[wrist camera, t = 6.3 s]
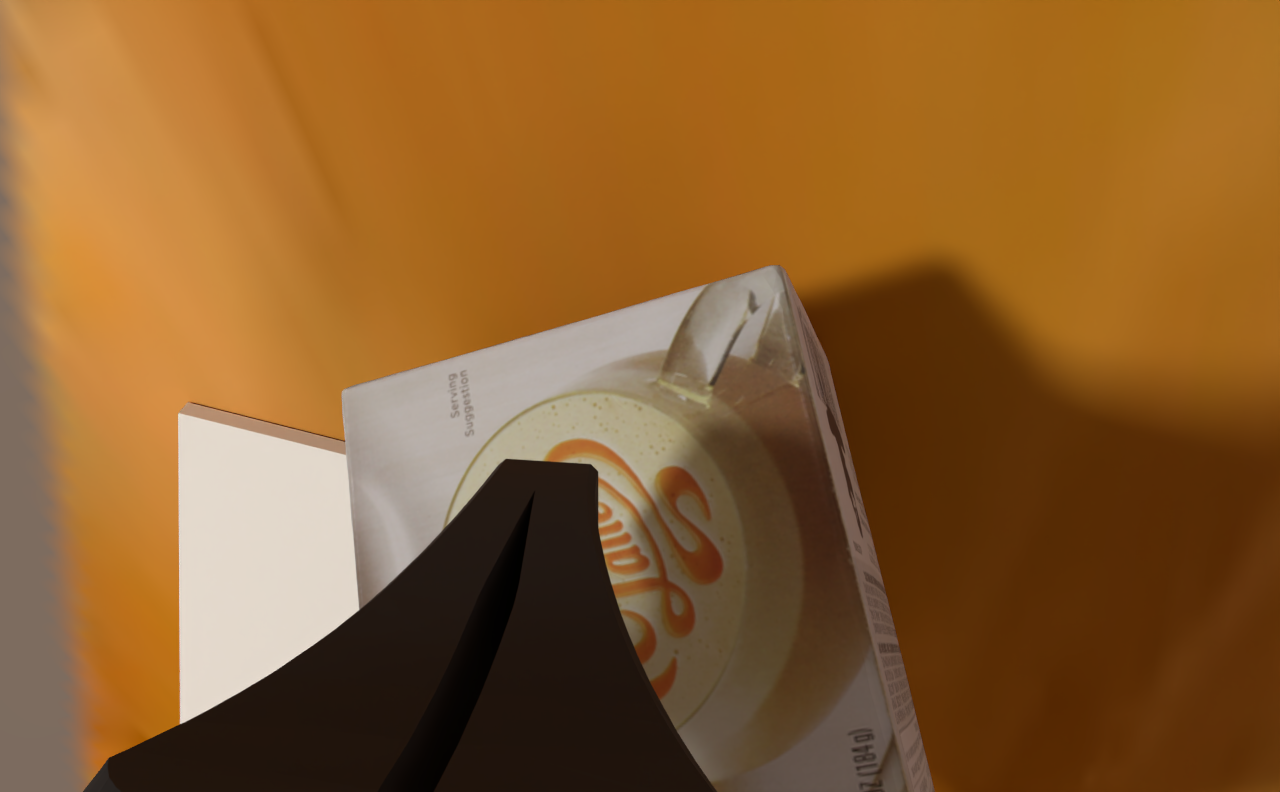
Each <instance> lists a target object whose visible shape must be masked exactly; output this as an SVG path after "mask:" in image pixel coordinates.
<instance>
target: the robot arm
mask: <svg viewBox="0 0 1280 792" xmlns="http://www.w3.org/2000/svg"><path fill="white" fill-rule="evenodd" d="M83 792H717V791H716V789H715V788H714V786H713V785H712V784H711V782H710V781H709V779H708V778H707V776H706V775H705V774H704V772H703V771H702V769H701V768H700V766H699V765H698V764H697V762H696V761H695V759H694V757H693V756H692V754H691V753H690V751H689V749H688V748H687V746H686V745H685V743H684V742H683V740H682V738H681V737H680V735H679V734H678V732H677V730H676V729H675V727H674V725H673V723H672V721H671V719H670V718H669V716H668V714H667V712H666V710H665V709H664V707H663V705H662V703H661V701H660V699H659V698H658V696H657V694H656V692H655V690H654V689H653V687H652V685H651V683H650V681H649V679H648V677H647V674H646V672H645V670H644V668H643V666H642V664H641V661H640V659H639V657H638V655H637V653H636V650H635V648H634V645H633V643H632V641H631V638H630V636H629V633H628V631H627V628H626V626H625V623H624V620H623V617H622V615H621V612H620V609H619V606H618V603H617V600H616V597H615V594H614V590H613V587H612V584H611V581H610V577H609V573H608V570H607V566H606V562H605V557H604V553H603V548H602V544H601V540H600V534H599V529H598V471H597V470H596V469H595V468H594V467H593V466H592V465H591V464H583V463H567V462H551V461H535V460H519V459H505V460H504V461H502V462H501V463H500V464H499V465H498V466H497V467H496V468H495V470H494V471H493V472H492V473H491V475H490V476H489V477H488V478H487V480H486V481H485V482H484V483H483V485H482V486H481V487H480V488H479V490H478V491H477V492H476V493H475V494H474V495H473V497H472V498H471V499H470V500H469V501H468V503H467V504H466V505H465V506H464V507H463V508H462V509H461V511H460V512H459V513H458V514H457V515H456V516H455V517H454V518H453V520H452V521H451V522H450V523H449V524H448V525H447V526H446V527H445V528H444V529H443V530H442V531H441V533H440V534H439V535H438V536H437V537H436V538H435V539H434V540H433V541H432V542H431V543H430V544H429V545H428V546H427V547H426V549H425V550H424V551H423V552H422V553H421V554H420V555H419V556H418V557H416V558H415V559H414V560H413V561H412V562H411V563H410V564H409V565H408V566H407V567H406V568H405V569H404V570H403V571H402V572H401V573H400V574H399V575H398V576H397V577H396V578H395V579H394V580H392V581H391V582H390V583H389V584H388V585H387V586H386V587H385V588H384V589H383V590H382V591H381V592H379V593H378V594H377V595H376V596H375V597H374V598H373V599H371V600H370V601H369V602H368V603H367V604H366V605H364V606H363V607H362V608H361V609H360V610H358V611H357V612H356V613H355V614H353V615H352V616H351V617H350V618H348V619H347V620H346V621H345V622H343V623H342V624H341V625H340V626H338V627H337V628H336V629H335V630H333V631H332V632H331V633H329V634H328V635H326V636H325V637H324V638H322V639H321V640H320V641H318V642H317V643H315V644H314V645H313V646H311V647H310V648H308V649H307V650H305V651H304V652H302V653H301V654H299V655H298V656H296V657H295V658H293V659H292V660H291V661H289V662H288V663H286V664H285V665H283V666H282V667H280V668H279V669H277V670H276V671H274V672H273V673H271V674H269V675H268V676H266V677H265V678H263V679H261V680H260V681H258V682H256V683H255V684H253V685H251V686H250V687H248V688H246V689H245V690H243V691H241V692H240V693H238V694H236V695H234V696H232V697H231V698H229V699H227V700H225V701H223V702H222V703H220V704H218V705H216V706H214V707H213V708H211V709H209V710H207V711H205V712H203V713H201V714H200V715H198V716H196V717H194V718H192V719H190V720H188V721H186V722H184V723H182V724H180V725H178V726H176V727H174V728H171V729H169V730H167V731H165V732H163V733H161V734H159V735H157V736H155V737H153V738H151V739H149V740H146V741H144V742H142V743H140V744H138V745H136V746H134V747H132V748H130V749H128V750H126V751H123V752H121V753H119V754H116V755H114V756H112V757H110V758H109V759H108V760H107V761H106V763H105V764H104V765H103V767H102V768H101V769H100V771H99V772H98V773H97V774H96V776H95V777H94V778H93V780H92V781H91V782H90V783H89V785H88V786H87V787H86V788H85V790H84V791H83Z"/></svg>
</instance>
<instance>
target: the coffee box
mask: <svg viewBox="0 0 1280 792" xmlns="http://www.w3.org/2000/svg"><path fill="white" fill-rule="evenodd" d="M342 413H343V422H344V431H345V444H346V460H347V469H348V479H349V493H350V508H351V521H352V530H353V540H354V553H355V566H356V579H357V591H358V603H359V610H360V609H361V608H362V607H363V606H364V605H366V604H367V603H368V602H369V601H370V600H371V599H373V598H374V597H375V596H376V595H377V594H378V593H379V592H381V591H382V590H383V589H384V588H385V587H386V586H387V585H388V584H389V583H390V582H391V581H392V580H394V579H395V578H396V577H397V576H398V575H399V574H400V573H401V572H402V571H403V570H404V569H405V568H406V567H407V566H408V565H409V564H410V563H411V562H412V561H413V560H414V559H415V558H416V557H418V556H419V555H420V554H421V553H422V552H423V551H424V550H425V549H426V547H427V546H428V545H429V544H430V543H431V542H432V541H433V540H434V539H435V538H436V537H437V536H438V535H439V534H440V533H441V531H442V530H443V529H444V528H445V527H446V526H447V525H448V524H449V523H450V522H451V521H452V520H453V518H454V517H455V516H456V515H457V514H458V513H459V512H460V511H461V509H462V508H463V507H464V506H465V505H466V504H467V503H468V501H469V500H470V499H471V498H472V497H473V495H474V494H475V493H476V492H477V491H478V490H479V488H480V487H481V486H482V485H483V483H484V482H485V481H486V480H487V478H488V477H489V476H490V475H491V473H492V472H493V471H494V470H495V468H496V467H497V466H498V465H499V464H500V463H501V462H502V461H504V460H505V459H519V460H535V461H551V462H567V463H583V464H591V465H592V466H593V467H594V468H595V469H596V470H597V471H598V529H599V534H600V540H601V544H602V548H603V553H604V557H605V562H606V566H607V570H608V573H609V577H610V581H611V584H612V587H613V590H614V594H615V597H616V600H617V603H618V606H619V609H620V612H621V615H622V617H623V620H624V623H625V626H626V628H627V631H628V633H629V636H630V638H631V641H632V643H633V645H634V648H635V650H636V653H637V655H638V657H639V659H640V661H641V664H642V666H643V668H644V670H645V672H646V674H647V677H648V679H649V681H650V683H651V685H652V687H653V689H654V690H655V692H656V694H657V696H658V698H659V699H660V701H661V703H662V705H663V707H664V709H665V710H666V712H667V714H668V716H669V718H670V719H671V721H672V723H673V725H674V727H675V729H676V730H677V732H678V734H679V735H680V737H681V738H682V740H683V742H684V743H685V745H686V746H687V748H688V749H689V751H690V753H691V754H692V756H693V757H694V759H695V761H696V762H697V764H698V765H699V766H700V768H701V769H702V771H703V772H704V774H705V775H706V776H707V778H708V779H709V781H710V782H711V784H712V785H713V786H714V788H715V789H716V791H717V792H935V790H934V786H933V782H932V778H931V774H930V770H929V766H928V762H927V758H926V754H925V750H924V746H923V742H922V738H921V734H920V730H919V726H918V722H917V717H916V713H915V709H914V705H913V701H912V696H911V692H910V688H909V684H908V680H907V676H906V671H905V667H904V663H903V660H902V656H901V652H900V648H899V644H898V639H897V635H896V631H895V627H894V623H893V619H892V615H891V611H890V607H889V603H888V599H887V596H886V592H885V588H884V584H883V580H882V576H881V572H880V568H879V564H878V560H877V556H876V552H875V548H874V544H873V540H872V536H871V532H870V528H869V524H868V520H867V516H866V512H865V509H864V505H863V501H862V497H861V493H860V490H859V486H858V482H857V478H856V474H855V469H854V465H853V461H852V457H851V453H850V449H849V445H848V441H847V437H846V433H845V429H844V424H843V420H842V416H841V412H840V408H839V404H838V400H837V396H836V392H835V388H834V383H833V379H832V375H831V370H830V365H829V362H828V360H827V357H826V354H825V352H824V350H823V348H822V346H821V344H820V342H819V340H818V338H817V336H816V333H815V331H814V329H813V327H812V325H811V322H810V320H809V318H808V316H807V314H806V311H805V309H804V307H803V305H802V303H801V301H800V299H799V297H798V295H797V293H796V292H795V290H794V287H793V285H792V283H791V281H790V279H789V277H788V275H787V273H786V271H785V269H784V268H782V267H781V266H780V265H770V266H766V267H763V268H760V269H757V270H753V271H750V272H747V273H744V274H740V275H737V276H734V277H730V278H727V279H723V280H720V281H717V282H713V283H710V284H706V285H703V286H699V287H695V288H692V289H688V290H685V291H681V292H678V293H674V294H671V295H667V296H664V297H661V298H657V299H654V300H650V301H647V302H643V303H640V304H637V305H633V306H630V307H626V308H623V309H620V310H616V311H613V312H610V313H606V314H603V315H600V316H596V317H593V318H589V319H586V320H582V321H579V322H575V323H571V324H568V325H564V326H561V327H557V328H554V329H550V330H547V331H543V332H540V333H537V334H533V335H529V336H526V337H522V338H519V339H515V340H512V341H508V342H505V343H502V344H498V345H495V346H491V347H488V348H484V349H481V350H477V351H474V352H471V353H467V354H464V355H460V356H457V357H453V358H450V359H446V360H443V361H439V362H436V363H432V364H429V365H425V366H421V367H418V368H414V369H410V370H407V371H403V372H400V373H396V374H393V375H389V376H386V377H382V378H379V379H376V380H372V381H368V382H365V383H361V384H357V385H354V386H351V387H348V388H346V389H344V390H343V391H342Z"/></svg>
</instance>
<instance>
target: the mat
mask: <svg viewBox="0 0 1280 792" xmlns="http://www.w3.org/2000/svg"><path fill="white" fill-rule="evenodd" d="M178 442H179V608H180V724H182V723H184V722H186V721H188V720H190V719H192V718H194V717H196V716H198V715H200V714H201V713H203V712H205V711H207V710H209V709H211V708H213V707H214V706H216V705H218V704H220V703H222V702H223V701H225V700H227V699H229V698H231V697H232V696H234V695H236V694H238V693H240V692H241V691H243V690H245V689H246V688H248V687H250V686H251V685H253V684H255V683H256V682H258V681H260V680H261V679H263V678H265V677H266V676H268V675H269V674H271V673H273V672H274V671H276V670H277V669H279V668H280V667H282V666H283V665H285V664H286V663H288V662H289V661H291V660H292V659H293V658H295V657H296V656H298V655H299V654H301V653H302V652H304V651H305V650H307V649H308V648H310V647H311V646H313V645H314V644H315V643H317V642H318V641H320V640H321V639H322V638H324V637H325V636H326V635H328V634H329V633H331V632H332V631H333V630H335V629H336V628H337V627H338V626H340V625H341V624H342V623H343V622H345V621H346V620H347V619H348V618H350V617H351V616H352V615H353V614H355V613H356V612H357V611H358V610H359V603H358V591H357V579H356V566H355V553H354V540H353V530H352V521H351V508H350V493H349V479H348V469H347V460H346V444H345V442H343V441H339V440H336V439H332V438H328V437H324V436H320V435H316V434H312V433H308V432H304V431H300V430H296V429H292V428H288V427H284V426H280V425H276V424H272V423H268V422H264V421H260V420H256V419H252V418H248V417H244V416H240V415H236V414H232V413H228V412H224V411H220V410H217V409H213V408H209V407H205V406H201V405H197V404H193V403H189V402H188V403H187V404H186V405H185V406H184V407H183V408H182V409H181V411H180V412H179V413H178Z"/></svg>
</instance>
